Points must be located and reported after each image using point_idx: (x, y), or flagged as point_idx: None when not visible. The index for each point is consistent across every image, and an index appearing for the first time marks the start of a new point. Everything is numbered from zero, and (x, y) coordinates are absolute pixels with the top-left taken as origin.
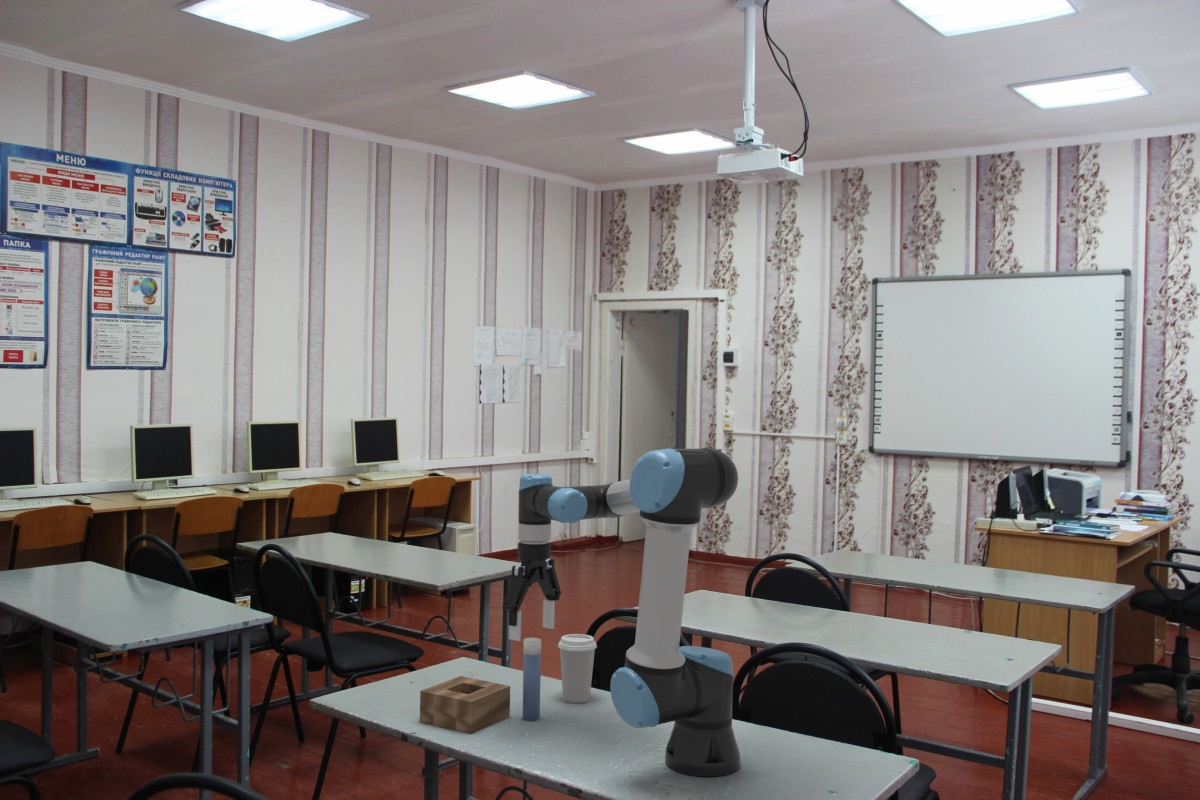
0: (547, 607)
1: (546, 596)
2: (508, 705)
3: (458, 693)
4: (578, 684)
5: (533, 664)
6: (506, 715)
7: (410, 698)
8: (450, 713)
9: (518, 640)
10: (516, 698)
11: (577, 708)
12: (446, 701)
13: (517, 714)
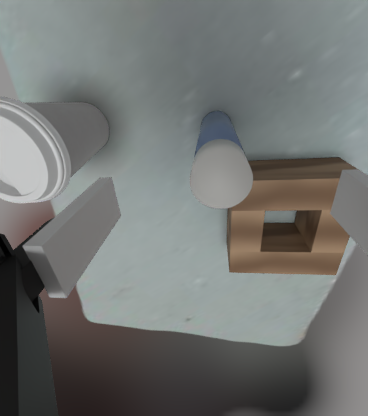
0: (77, 249)
1: (39, 305)
2: None
3: (324, 225)
4: (84, 113)
5: (236, 139)
6: None
7: (237, 294)
8: None
9: (358, 170)
10: (153, 203)
11: (121, 91)
12: None
13: None
